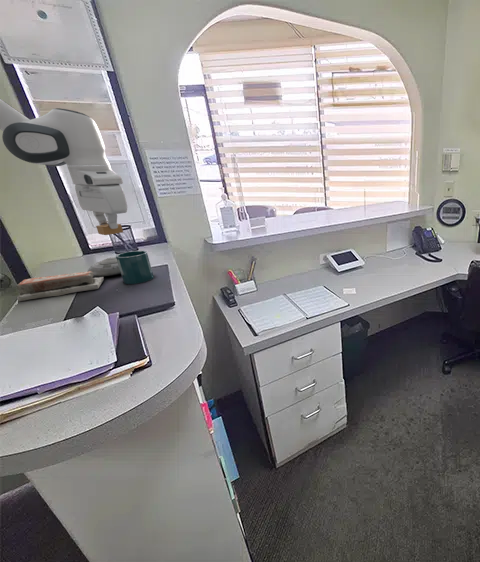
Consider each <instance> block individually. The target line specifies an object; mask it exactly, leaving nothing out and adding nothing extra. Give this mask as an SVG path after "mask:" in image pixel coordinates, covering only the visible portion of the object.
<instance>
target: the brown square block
mask: <svg viewBox="0 0 480 562" xmlns="http://www.w3.org/2000/svg"><path fill="white" fill-rule="evenodd" d="M117 225H118V228H116V229H110V228H109V227H108V225H107V224H105V225H99V224H98V225H95V226H96V230H97V233H98V234H99V235H102V236H109V235H116V234H121V233H124V230H123V226H122V224H121V223H117Z"/></svg>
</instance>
